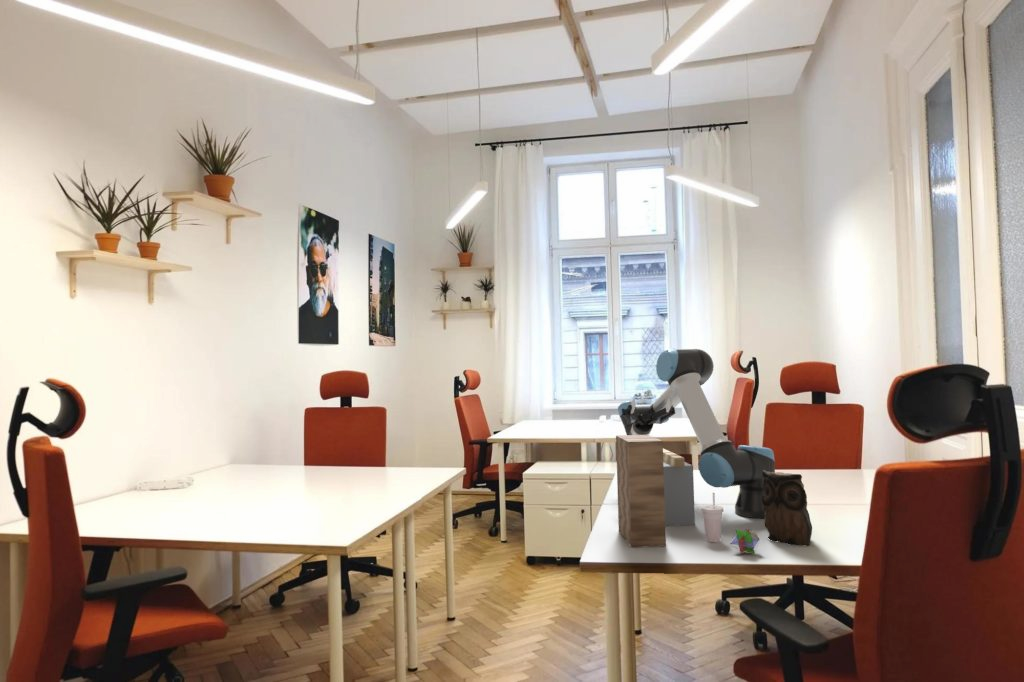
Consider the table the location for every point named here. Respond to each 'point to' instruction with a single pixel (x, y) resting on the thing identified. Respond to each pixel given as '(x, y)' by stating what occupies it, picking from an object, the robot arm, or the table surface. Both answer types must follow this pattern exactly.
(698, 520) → the table surface
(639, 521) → the tall wooden pillar
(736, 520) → the table surface
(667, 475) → the block
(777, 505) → the owl
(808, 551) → the table surface
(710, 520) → the smoothie
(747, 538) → the geometric puzzle
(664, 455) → the notched wooden bar
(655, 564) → the table surface
